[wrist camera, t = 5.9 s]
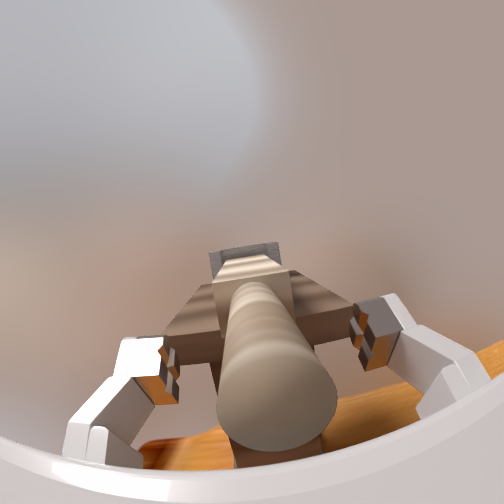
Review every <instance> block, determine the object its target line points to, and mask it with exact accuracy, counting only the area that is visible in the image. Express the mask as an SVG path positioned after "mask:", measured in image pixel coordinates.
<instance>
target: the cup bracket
mask: <svg viewBox="0 0 504 504" xmlns="http://www.w3.org/2000/svg"><path fill="white" fill-rule="evenodd" d="M262 254H264V255H266V256H267V257H269V258H270V259H272V260H273V261H275V262H276V263H278V264H279V265H281V258H280V252H279V245H278V242H268V243H263V244H256V245H249V246H243V247H238V248H231V249H224V250H218V251H213V252H211V253H209V257H210V263H211V269H212V275H213V280H214V279H215V277H216V276H217V274H218V272H219V271H220V269H221V268H222V266H223V265H224V263H225V262H226V260H230V259H237V258H243V257H249V256H256V255H262ZM281 266H282V265H281Z"/></svg>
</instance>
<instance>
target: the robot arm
mask: <svg viewBox="0 0 504 504" xmlns="http://www.w3.org/2000/svg"><path fill="white" fill-rule="evenodd" d="M351 312H352V314H353V316H354V317H353V318H352V319H351V320H350V323H349V334H350V338H351V341H352V344H353V346H354V347H355V348H357V349H358V350H360V352H359V356H358V357H359V360H360V362H361V364H362V366H363V369H364V371H365V372H366V371H369V370H373V369H376V368H380V367H383V366H387V367H388V368H390V369H391V370H392V371H394V372H395V373H396V374H397V375H399V376H400V377H401V378H403V379H404V380H405V381H407V382H408V383H409V384H411V385H412V386H413V387H415V388H416V389H417V390H419V391H420V392H421V393H423V394H424V396H423V397H422V399H421V400H420V402H419V403H418V404H417V406H416V408H415V409H416V411H417V413H418V415H419V418H420V420H419V421H417V422H415V423H413V424H410V425H408V426H406V427H403V428H401V429H398V430H396V431H393V432H391V433H388V434H386V435H383V436H380V437H378V438H375V439H372V440H369V441H366V442H363V443H360V444H357V445H354V446H350V447H347V448H344V449H340V450H337V451H333V452H329V453H325V454H321V455H317V456H313V457H308V458H304V459H299V460H294V461H289V462H283V463H277V464H271V465H264V466H257V467H248V468H238V469H226V470H208V471H166V470H148V469H143V456H142V455H141V453H139V452H138V451H136V450H135V449H134V448H132V447H131V446H130V445H131V443H132V442H133V440H134V439H135V437H136V435H137V434H138V432H139V431H140V429H141V427H142V426H143V425H144V423H145V422H146V420H147V418H148V417H149V415H150V414H151V412H152V411H153V409H154V408H155V405H166V404H178V400H179V386H178V384H177V383H176V380H177V379H178V378H179V376H180V364H179V359H178V355H177V353H176V351H175V350H174V349H172V348H171V347H170V345H171V341H170V339H169V337H168V335H155V336H139V337H125V338H124V339H123V340H122V342H121V346H120V350H119V353H118V357H117V362H116V366H115V370H114V374H113V377H109V378H108V379H107V380H106V381H105V382H104V383H103V384H102V385H101V387H100V388H99V389H98V390H97V391H96V392H95V393H94V394H93V395H92V396H91V397H90V398H89V400H88V401H87V402H86V403H85V404H84V405H83V406H82V407H81V408H80V409H79V410H78V412H77V413H76V414H75V415H74V416H73V417H72V418H71V419H70V420H69V422H68V427H67V431H66V436H65V441H64V446H63V452H62V456H61V455H57V454H53V453H50V452H46V451H42V450H39V449H36V448H33V447H30V446H27V445H24V444H21V443H18V442H15V441H13V440H10V439H8V438H5V437H2V436H0V504H504V372H503V373H501V374H500V375H498V376H497V377H495V378H494V379H492V380H491V379H490V377H489V375H488V374H487V372H486V370H485V369H484V367H483V366H482V364H481V362H480V361H479V359H478V358H477V356H476V355H475V353H474V352H473V351H471V350H469V349H467V348H465V347H463V346H461V345H460V344H458V343H456V342H454V341H452V340H450V339H448V338H446V337H444V336H442V335H440V334H438V333H436V332H435V331H433V330H431V329H429V328H427V327H425V326H423V325H417V324H416V322H415V321H414V319H413V318H412V316H411V315H410V313H409V312H408V310H407V309H406V308H405V306H404V305H403V304H402V302H401V300H400V299H399V298H398V296H397V295H396V294H394V293H392V294H389V295H385V296H381V297H377V298H373V299H369V300H365V301H361V302H357V303H354V304H353V306H352V311H351Z"/></svg>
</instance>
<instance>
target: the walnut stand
mask: <svg viewBox="0 0 504 504" xmlns="http://www.w3.org/2000/svg"><path fill="white" fill-rule="evenodd" d="M289 275H290V282H291V289H292V297H293V304H294V312H295V320H296V325H297V327H298V328H299V330H300V331H301V333H302V334H303V336H304V337H305V339H306V340H307V342H308V343H309V345H310V346H311V348H312V349H313V351H314V345H318V344H322V343H327V342H331V341H335V340H339V339H344V338H348V337H350V334H349V323H350V320H351V319H352V318H353V317H354V316H353V314H352V312H351V311H352V306H353V304H352V303H350V302H348V301H347V300H345V299H343V298H342V297H340V296H338V295H336V294H335V293H333V292H331V291H330V290H328V289H326V288H324V287H323V286H321V285H319V284H317V283H316V282H314V281H312V280H311V279H309V278H307V277H305V276H304V275H302V274H300V273H299V272H297V271H295V270H293V271H289ZM161 335H168V337H169V339H170V341H171V345H170V347H171V348H172V349H174V350H175V351H176V353H177V355H178V359H179V364H180V365H191V364H201V363H210V367H211V371H212V376H213V380H214V384H215V388H216V392H217V396H218V390H219V383H220V375H221V368H222V361H223V354H224V346H225V339H226V338H222V337H221V332H220V327H219V321H218V316H217V311H216V305H215V300H214V295H213V289H212V284H206V285H201V286H200V288H199V289H198V290H197V291H196V292H195V294H194V295H193V296H192V297H191V298H190V300H189V301H188V302H187V303H186V305H185V306H184V307H183V308H182V309H181V311H180V312H179V313H178V314H177V315H176V317H175V318H174V319H173V320H172V321H171V323H170V324H169V325H168V326H167V328H166V329H165V330H164V331H163V333H162V334H161ZM228 437H229V436H228ZM229 440H230V444H231V447H232V450H233V454H234V469H238V468H248V467H257V466H264V465H271V464H277V463H283V462H289V461H294V460H299V459H304V458H308V457H313V456H317V455H321V454H325V453H324V451H323V448H322V446H321V433H320V434H319V435H318V436H317V437H315V438H314V439H312V440H311V441H309V442H307V443H306V444H303V445H301V446H299V447H296V448H293V449H289V450H285V451H276V452H267V451H258V450H254V449H250V448H247V447H245V446H242V445H240V444H239V443H237V442H235V441H234V440H233V439H231V438H230V437H229Z"/></svg>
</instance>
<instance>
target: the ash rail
mask: <svg viewBox="0 0 504 504" xmlns="http://www.w3.org/2000/svg"><path fill="white" fill-rule="evenodd" d="M212 289H213V295H214V300H215V305H216V311H217V316H218V321H219V327H220V332H221V337H222V338H226V339H225V346H224V354H223V361H222V368H221V375H220V383H219V390H218V398H217V406H216V411H217V417H218V421H219V423H220V425H221V427H222V429H223V430H224V431H225V433H226V434H227V435H228V436H229V437H230V438H231V439H233V440H234V441H235V442H237V443H239V444H240V445H242V446H245V447H247V448H250V449H254V450H258V451H267V452H276V451H285V450H289V449H293V448H296V447H299V446H301V445H303V444H306V443H307V442H309V441H311V440H312V439H314V438H315V437H317V436H318V435H319V434H320V433H321V432H322V431H323V430H324V429H325V428H326V427H327V426H328V424H329V423H330V421H331V420H332V418H333V416H334V414H335V411H336V407H337V399H338V397H337V390H336V387H335V384H334V382H333V380H332V378H331V377H330V375H329V374H328V372H327V371H326V369H325V368H324V366H323V365H322V363H321V362H320V360H319V359H318V357H317V356H316V354H315V352H314V351H313V349H312V348H311V346H310V345H309V343H308V342H307V340H306V339H305V337H304V336H303V334H302V333H301V331H300V330H299V328H298V327H297V325H296V320H295V312H294V304H293V297H292V289H291V282H290V275H289V271H288V270H287V269H285V268H284V267H282V266H281V265H279V264H278V263H276V262H275V261H273V260H272V259H270V258H269V257H267V256H266V255H264V254H262V255H256V256H249V257H243V258H237V259H230V260H226V262H225V263H224V265H223V266H222V268H221V269H220V271H219V272H218V274H217V276H216V277H215V279H214V280H213V282H212Z"/></svg>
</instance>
